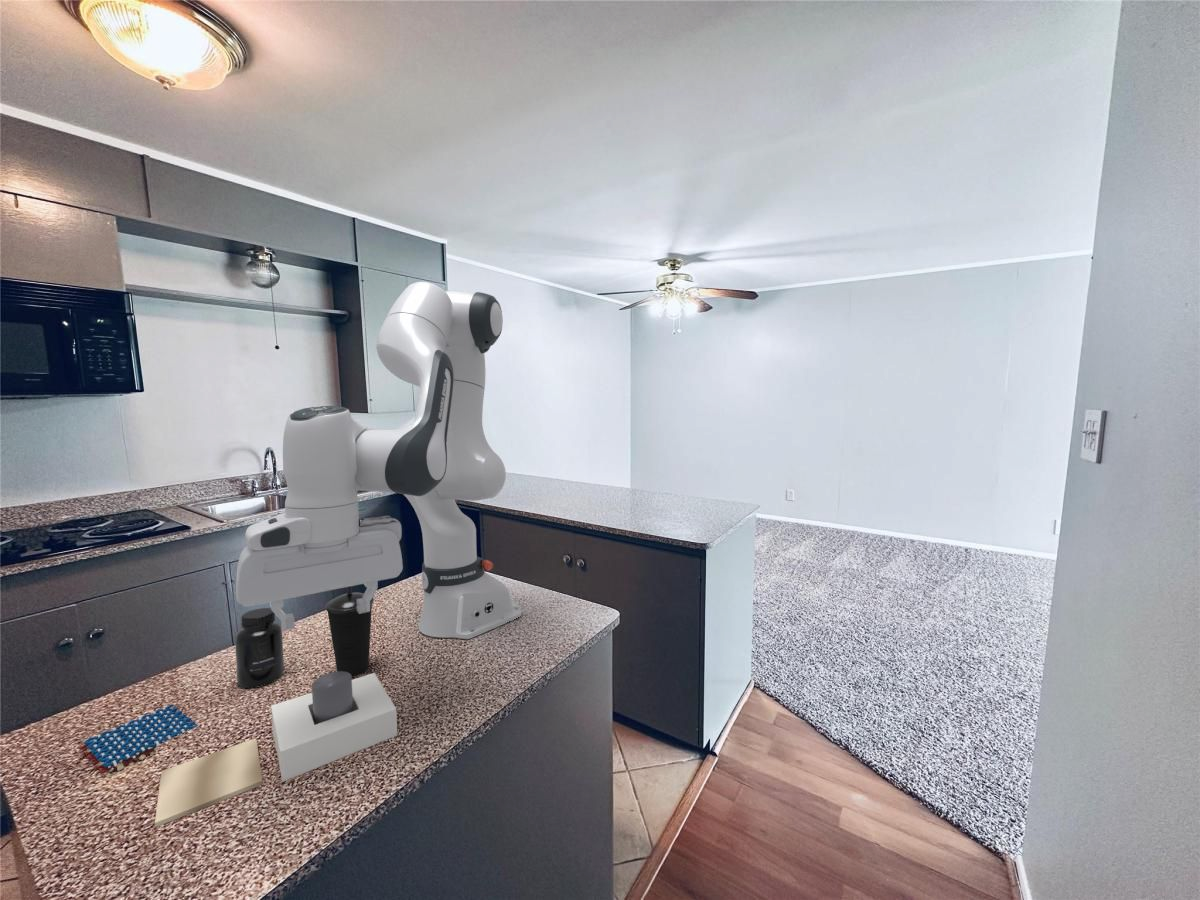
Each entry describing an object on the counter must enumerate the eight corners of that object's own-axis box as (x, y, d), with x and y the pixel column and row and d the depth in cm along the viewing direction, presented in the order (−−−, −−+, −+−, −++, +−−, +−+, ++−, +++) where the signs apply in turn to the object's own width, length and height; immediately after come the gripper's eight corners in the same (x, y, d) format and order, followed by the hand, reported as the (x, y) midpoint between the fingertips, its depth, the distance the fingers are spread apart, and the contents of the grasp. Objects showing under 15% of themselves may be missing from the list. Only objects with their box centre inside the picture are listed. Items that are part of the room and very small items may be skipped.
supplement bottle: (260, 691, 83) (256, 623, 82) (227, 686, 84) (222, 619, 83) (293, 669, 89) (289, 606, 88) (262, 665, 91) (258, 603, 90)
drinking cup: (344, 692, 83) (339, 577, 81) (320, 678, 87) (314, 569, 85) (385, 671, 89) (381, 564, 87) (360, 659, 93) (356, 557, 91)
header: (375, 701, 80) (374, 672, 79) (397, 741, 71) (396, 708, 70) (273, 738, 71) (270, 705, 71) (282, 788, 62) (280, 751, 61)
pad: (256, 747, 69) (256, 737, 69) (263, 791, 61) (262, 780, 61) (162, 781, 63) (161, 770, 63) (156, 835, 55) (154, 822, 55)
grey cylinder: (349, 717, 74) (347, 667, 74) (357, 735, 70) (355, 682, 70) (312, 731, 71) (309, 679, 70) (318, 750, 67) (315, 695, 67)
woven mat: (77, 754, 69) (76, 740, 68) (173, 713, 78) (172, 701, 78) (102, 784, 63) (100, 769, 63) (201, 736, 72) (200, 723, 72)
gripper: (394, 510, 77) (397, 596, 78) (232, 529, 64) (237, 631, 65) (407, 517, 72) (409, 609, 73) (233, 539, 59) (239, 649, 60)
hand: (327, 620), depth 69 cm, fingers open, 8 cm apart
